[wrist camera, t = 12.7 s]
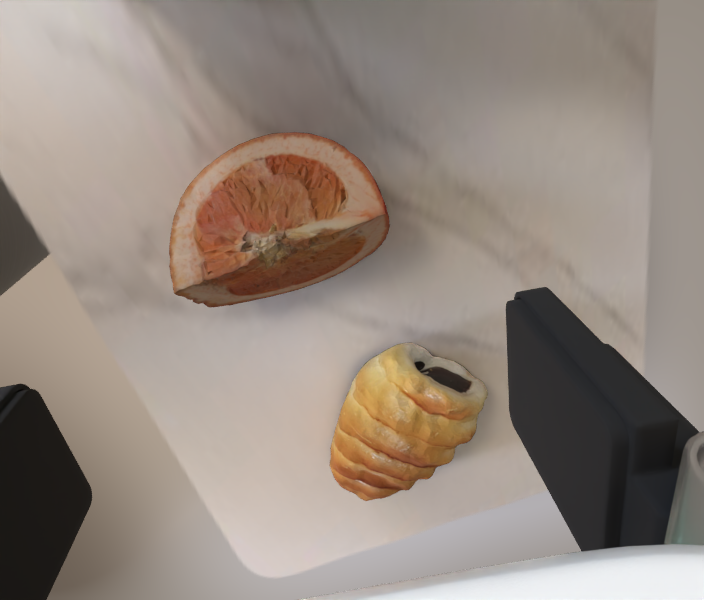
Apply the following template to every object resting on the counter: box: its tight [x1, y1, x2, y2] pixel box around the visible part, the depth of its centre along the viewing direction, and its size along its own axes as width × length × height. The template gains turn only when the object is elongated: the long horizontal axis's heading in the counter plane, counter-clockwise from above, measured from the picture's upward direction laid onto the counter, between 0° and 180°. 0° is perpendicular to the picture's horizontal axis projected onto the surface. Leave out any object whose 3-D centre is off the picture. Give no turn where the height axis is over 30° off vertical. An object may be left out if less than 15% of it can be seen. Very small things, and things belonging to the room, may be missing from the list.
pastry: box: [330, 343, 488, 501], centre depth 27 cm, size 9×7×4 cm
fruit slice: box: [169, 132, 390, 307], centre depth 20 cm, size 8×7×5 cm
